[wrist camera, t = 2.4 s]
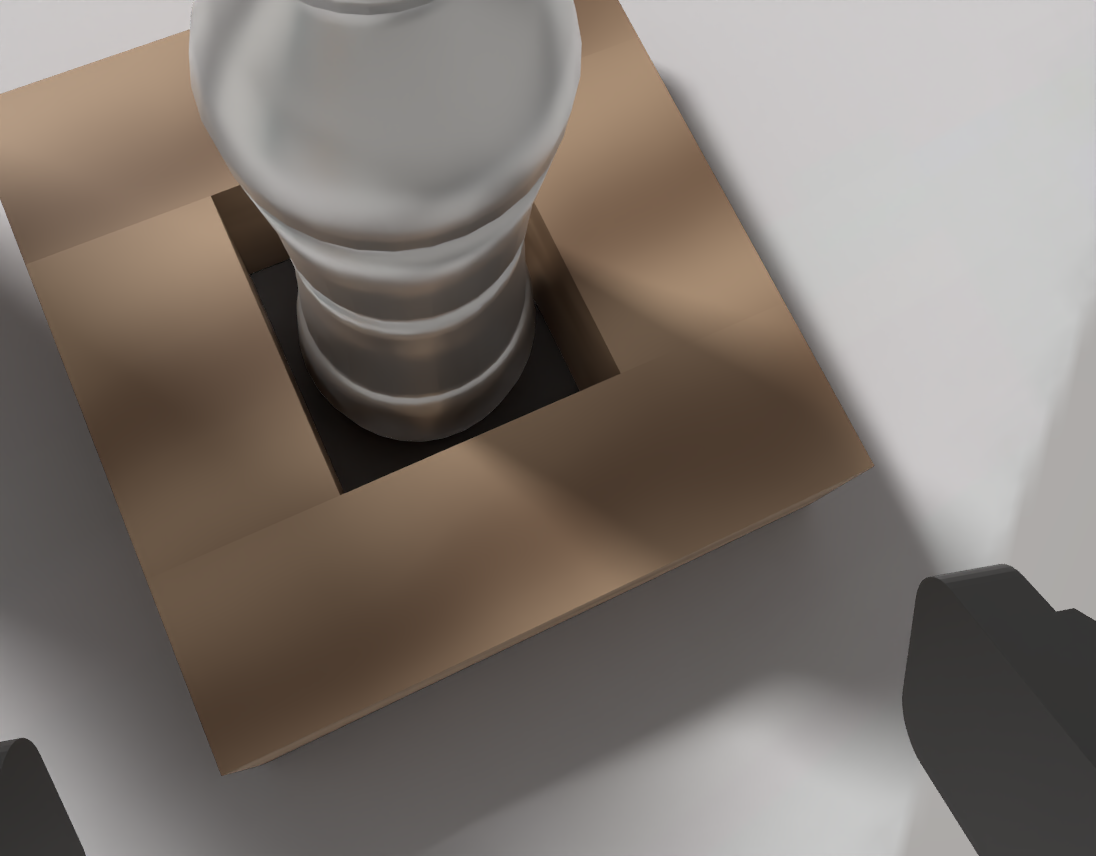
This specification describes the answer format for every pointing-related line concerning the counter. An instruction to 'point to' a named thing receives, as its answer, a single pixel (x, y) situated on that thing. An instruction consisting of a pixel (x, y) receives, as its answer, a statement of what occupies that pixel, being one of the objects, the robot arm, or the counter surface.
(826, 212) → the counter surface
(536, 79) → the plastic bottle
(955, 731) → the robot arm
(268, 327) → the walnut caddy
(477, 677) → the counter surface
